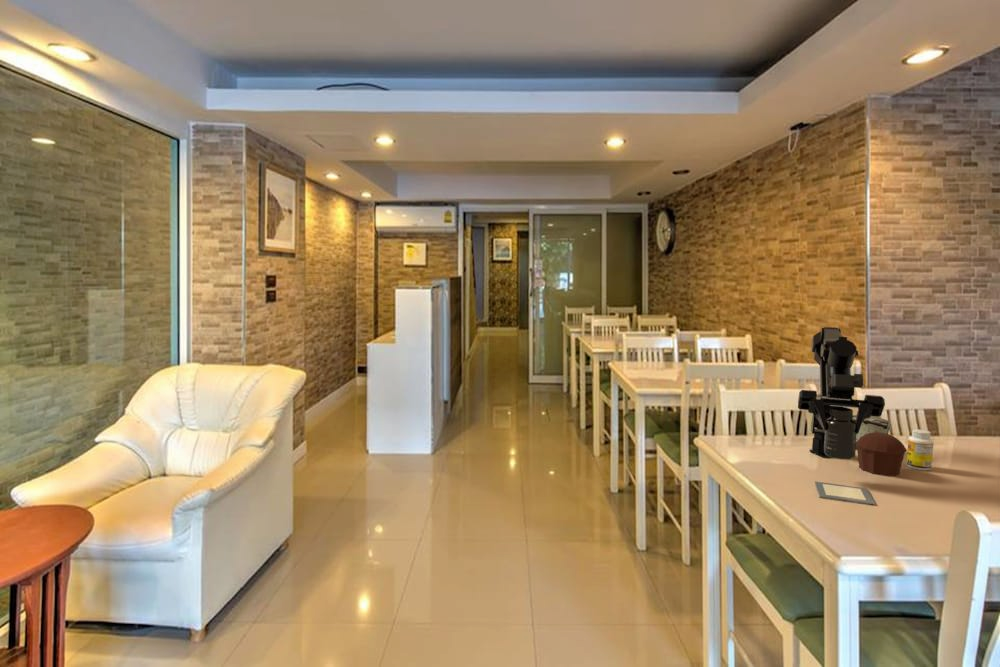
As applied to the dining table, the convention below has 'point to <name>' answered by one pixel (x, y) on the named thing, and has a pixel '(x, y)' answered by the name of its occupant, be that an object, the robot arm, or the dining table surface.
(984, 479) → the dining table surface
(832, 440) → the supplement bottle
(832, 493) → the foundation tile
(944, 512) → the dining table surface
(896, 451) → the muffin
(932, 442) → the supplement bottle
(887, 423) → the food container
